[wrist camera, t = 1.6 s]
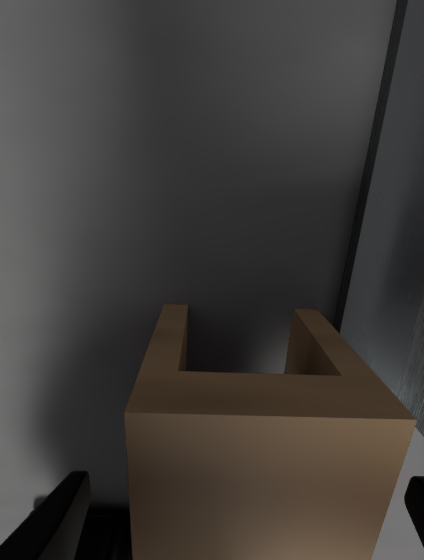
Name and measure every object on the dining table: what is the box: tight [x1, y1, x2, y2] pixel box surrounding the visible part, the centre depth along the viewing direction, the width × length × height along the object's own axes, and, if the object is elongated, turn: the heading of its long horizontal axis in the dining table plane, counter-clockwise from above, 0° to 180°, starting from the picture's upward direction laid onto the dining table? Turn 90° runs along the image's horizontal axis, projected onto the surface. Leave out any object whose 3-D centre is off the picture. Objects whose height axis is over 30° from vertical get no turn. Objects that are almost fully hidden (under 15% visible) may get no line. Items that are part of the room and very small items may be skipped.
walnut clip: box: [124, 304, 417, 560], centre depth 10 cm, size 6×6×6 cm
